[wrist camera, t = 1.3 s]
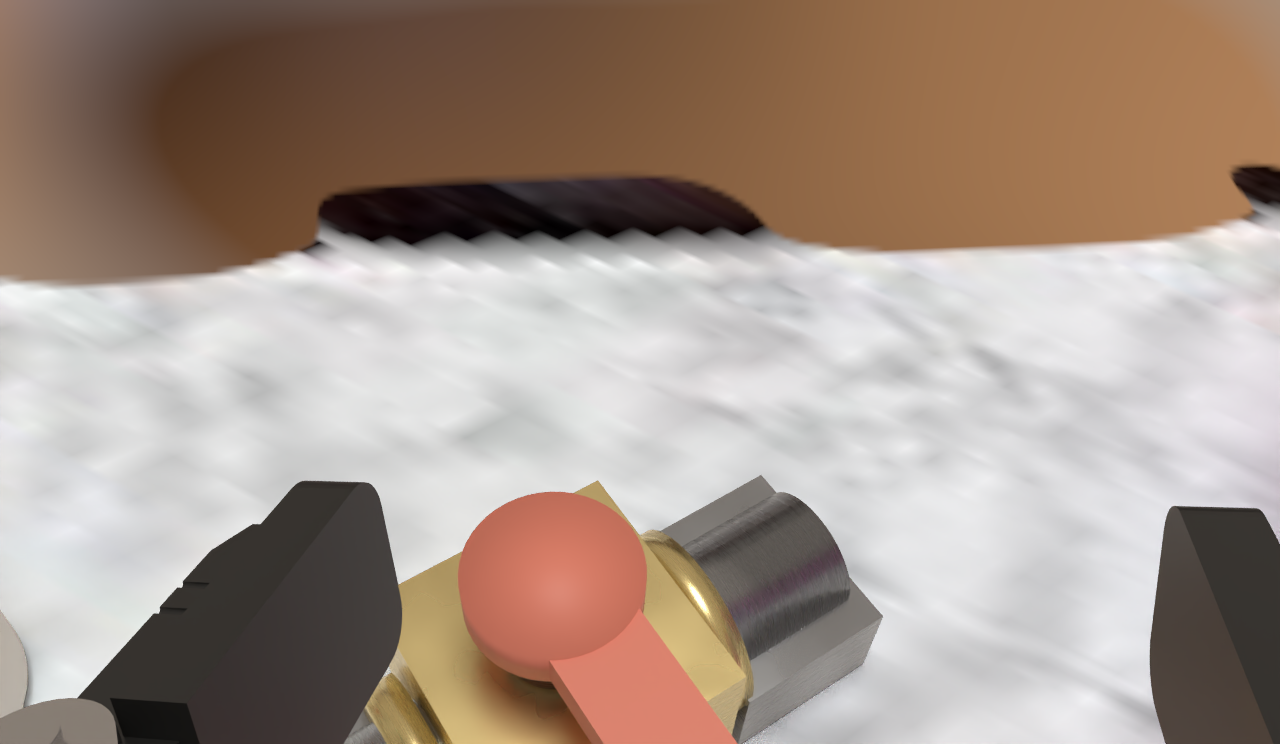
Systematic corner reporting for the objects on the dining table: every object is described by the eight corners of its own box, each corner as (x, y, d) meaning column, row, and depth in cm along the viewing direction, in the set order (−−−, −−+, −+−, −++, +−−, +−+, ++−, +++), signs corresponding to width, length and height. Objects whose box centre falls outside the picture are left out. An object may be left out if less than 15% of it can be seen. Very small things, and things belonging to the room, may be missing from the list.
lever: (839, 1232, 21) (997, 1171, 13) (429, 570, 29) (372, 285, 21) (1016, 1073, 22) (1254, 934, 14) (583, 490, 30) (584, 197, 22)
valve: (312, 1050, 30) (233, 968, 23) (211, 818, 34) (117, 688, 27) (873, 676, 37) (938, 529, 30) (741, 516, 41) (773, 353, 34)
